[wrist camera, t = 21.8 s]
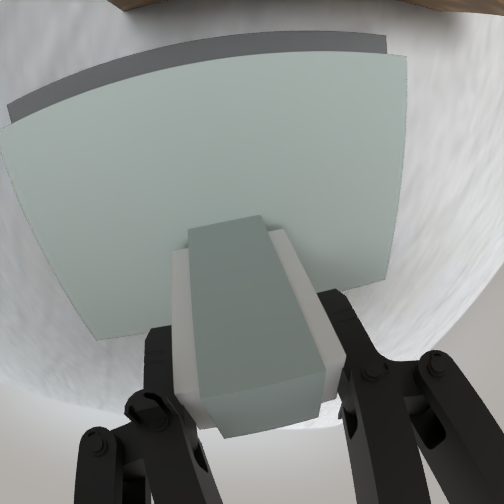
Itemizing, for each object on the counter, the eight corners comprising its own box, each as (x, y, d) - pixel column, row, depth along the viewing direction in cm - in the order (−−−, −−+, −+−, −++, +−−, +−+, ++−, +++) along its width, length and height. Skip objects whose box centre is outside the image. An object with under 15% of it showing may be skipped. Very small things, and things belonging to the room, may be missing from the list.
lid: (98, 325, 17) (82, 467, 10) (7, 125, 10) (-136, 237, 2) (376, 267, 19) (454, 383, 11) (391, 54, 11) (566, 102, 4)
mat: (98, 310, 20) (97, 316, 19) (12, 103, 11) (6, 105, 11) (370, 253, 22) (374, 258, 21) (379, 35, 13) (385, 35, 12)
